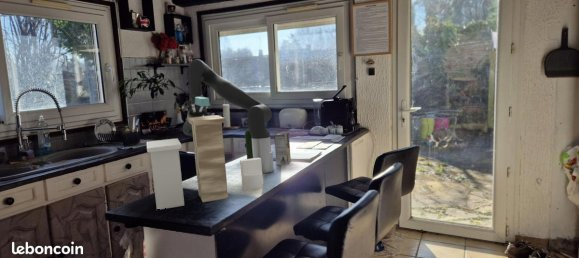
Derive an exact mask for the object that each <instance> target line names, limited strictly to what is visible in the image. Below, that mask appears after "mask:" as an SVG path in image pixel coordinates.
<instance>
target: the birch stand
mask: <svg viewBox="0 0 579 258" xmlns="http://www.w3.org/2000/svg"><path fill="white" fill-rule="evenodd" d="M187 120H188V122H190V123H191V124H192V131H193V136H192V138H193V139H192V140H193V149H194V159H195V160H194V161H195V169H196V170H195V171H196V180H197V190H198V196H199V198H200V199H201V202H202V203H206V202H207V203H208V202H212V201H219V200H225V199H229V192H228V191H229V190H228V179H227V172H226V171H227V170H226V169H227V168H226V158H225V147H224V146H225V145H224V135H223V125H222V124H223V123H226V117H224V116H223V117H222V116H221V115H217V114H216V115H213V114H212V115H204V116H202V117H192V118H187Z"/></svg>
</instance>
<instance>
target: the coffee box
mask: <svg viewBox="0 0 579 258" xmlns="http://www.w3.org/2000/svg"><path fill="white" fill-rule="evenodd" d="M273 139H274V153H275V164H276V166H286V165H287V166H288V165H289V164H290V163H291V161H292V159H291V157H292V156H291V145H290V133H289V132H278V133H275V134H274V136H273Z"/></svg>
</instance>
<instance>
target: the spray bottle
mask: <svg viewBox="0 0 579 258" xmlns="http://www.w3.org/2000/svg"><path fill="white" fill-rule="evenodd" d="M246 125H247V127H248V129H246V130H245V131H244V137H245V139H244V140H245V149H246V151H245V152H246V159H252V158H253V149H252V137H251V134H250V131H249V124H248V117H247V119H246Z"/></svg>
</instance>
